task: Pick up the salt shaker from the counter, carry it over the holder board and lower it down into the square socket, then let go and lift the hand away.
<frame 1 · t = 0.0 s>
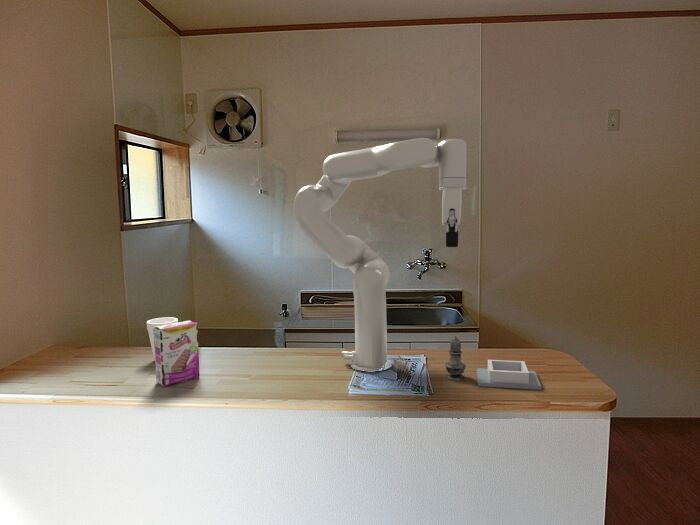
hand: (452, 245, 146), 37 cm above the countertop, tool pointing down, fingers open, 9 cm apart
foam cup: (165, 360, 165), on the countertop
candy bar box: (178, 381, 146), on the countertop
holder: (507, 380, 141), on the countertop
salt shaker: (455, 378, 144), on the countertop
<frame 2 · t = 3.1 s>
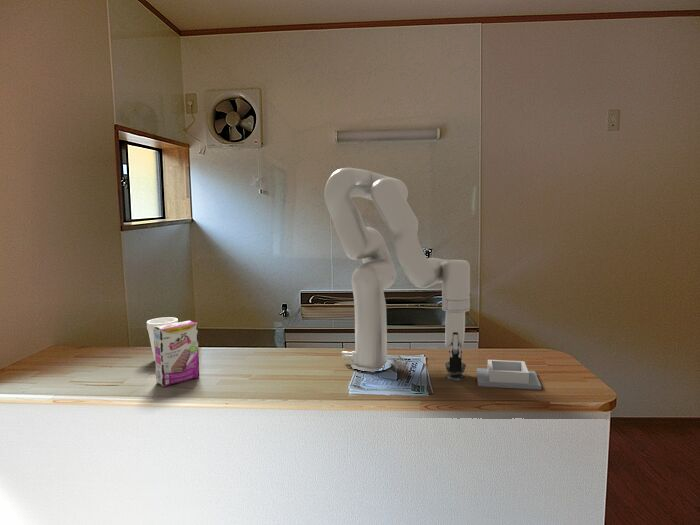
hand: (455, 367, 144), 3 cm above the countertop, tool pointing down, fingers closed on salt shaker, 5 cm apart
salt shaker: (455, 378, 144), on the countertop, touching gripper
everything else where it was.
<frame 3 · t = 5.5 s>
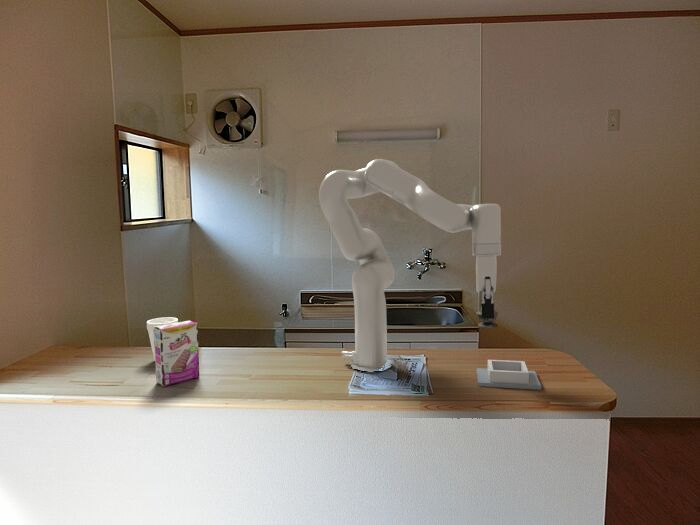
hand: (487, 314, 140), 18 cm above the countertop, tool pointing down, fingers closed on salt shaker, 5 cm apart
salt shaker: (487, 326, 140), point 15 cm above the countertop, touching gripper
everything else where it was.
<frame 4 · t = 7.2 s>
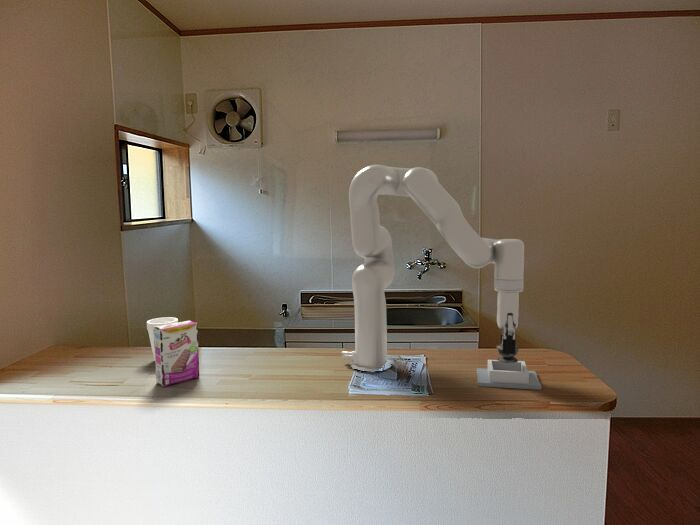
hand: (507, 349, 140), 9 cm above the countertop, tool pointing down, fingers closed on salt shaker, 5 cm apart
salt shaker: (507, 360, 140), point 6 cm above the countertop, touching gripper
everything else where it was.
when the fingers open (5 cm above the countertop, at t = 8.3 s): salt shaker drops 1 cm, resting on holder.
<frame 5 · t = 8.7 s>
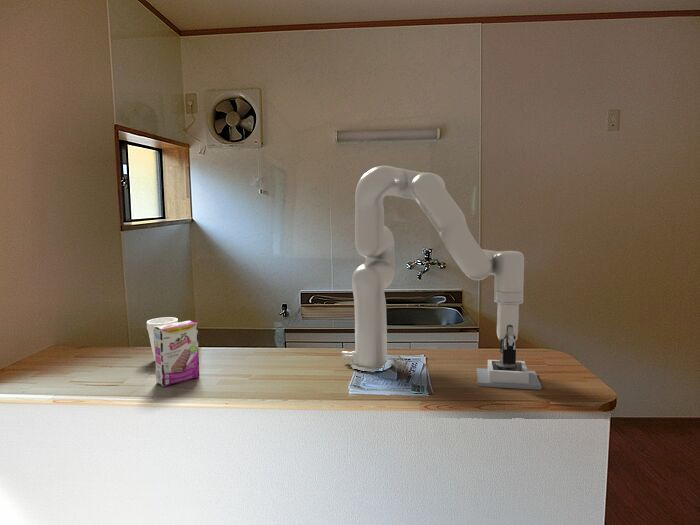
hand: (507, 358, 140), 6 cm above the countertop, tool pointing down, fingers open, 9 cm apart
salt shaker: (506, 377, 141), point 1 cm above the countertop, touching holder
everything else where it was.
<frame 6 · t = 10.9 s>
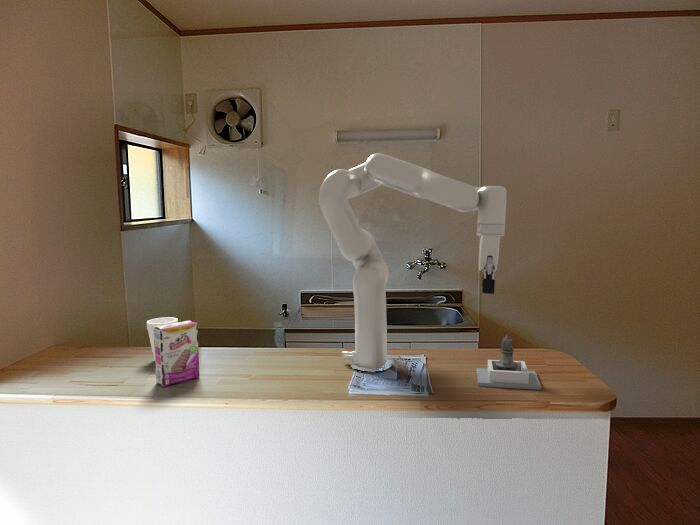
hand: (487, 290, 146), 24 cm above the countertop, tool pointing down, fingers open, 9 cm apart
nothing on the countertop moved.
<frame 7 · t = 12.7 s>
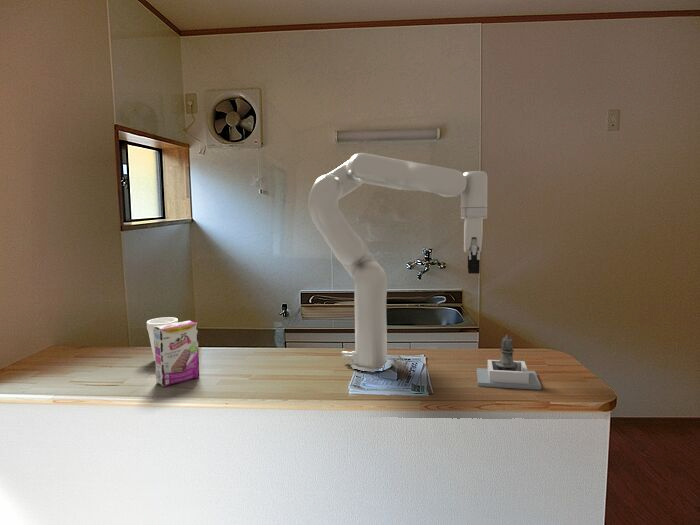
hand: (473, 271, 153), 28 cm above the countertop, tool pointing down, fingers open, 9 cm apart
nothing on the countertop moved.
at the end: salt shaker 0.2 cm from the holder (horizontally); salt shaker point 0.8 cm above the countertop; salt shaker tilted 0° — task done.
